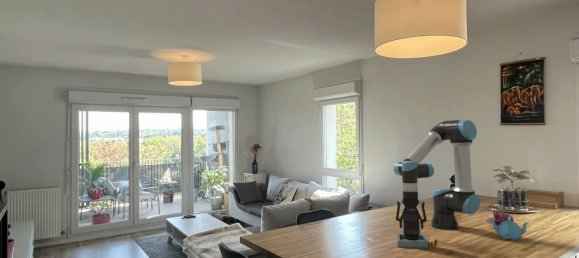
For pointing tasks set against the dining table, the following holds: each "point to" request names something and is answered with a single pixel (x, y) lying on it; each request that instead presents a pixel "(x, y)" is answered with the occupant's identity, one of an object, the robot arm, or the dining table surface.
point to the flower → (499, 217)
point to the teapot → (509, 229)
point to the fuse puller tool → (432, 241)
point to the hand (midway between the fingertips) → (411, 234)
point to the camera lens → (411, 224)
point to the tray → (412, 242)
